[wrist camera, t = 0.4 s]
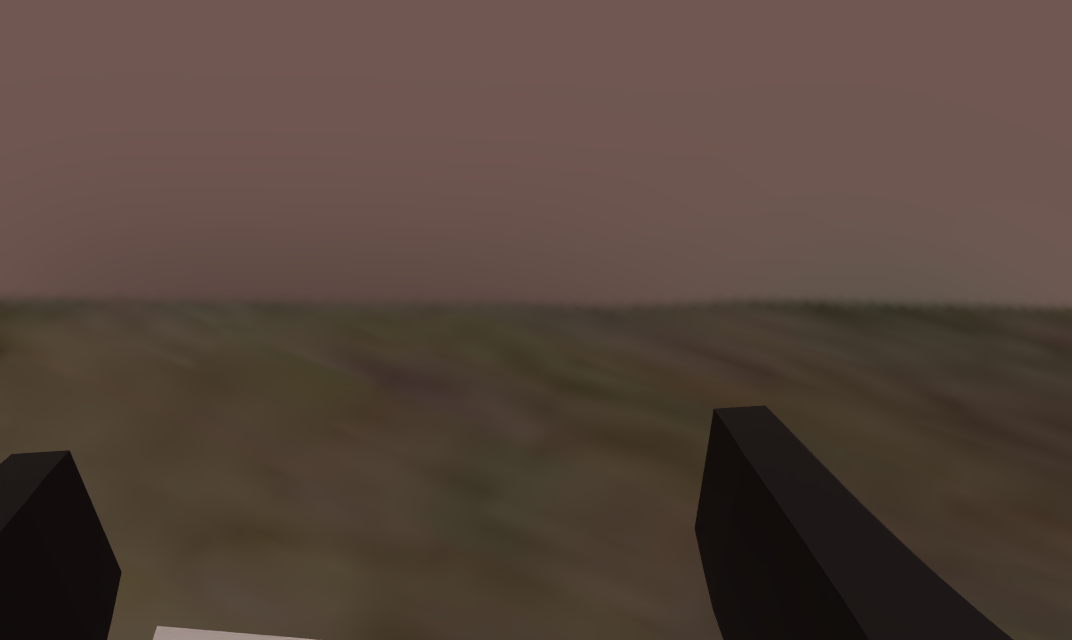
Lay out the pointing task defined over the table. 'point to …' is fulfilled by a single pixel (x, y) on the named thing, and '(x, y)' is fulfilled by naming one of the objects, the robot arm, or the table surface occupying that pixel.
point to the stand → (209, 635)
